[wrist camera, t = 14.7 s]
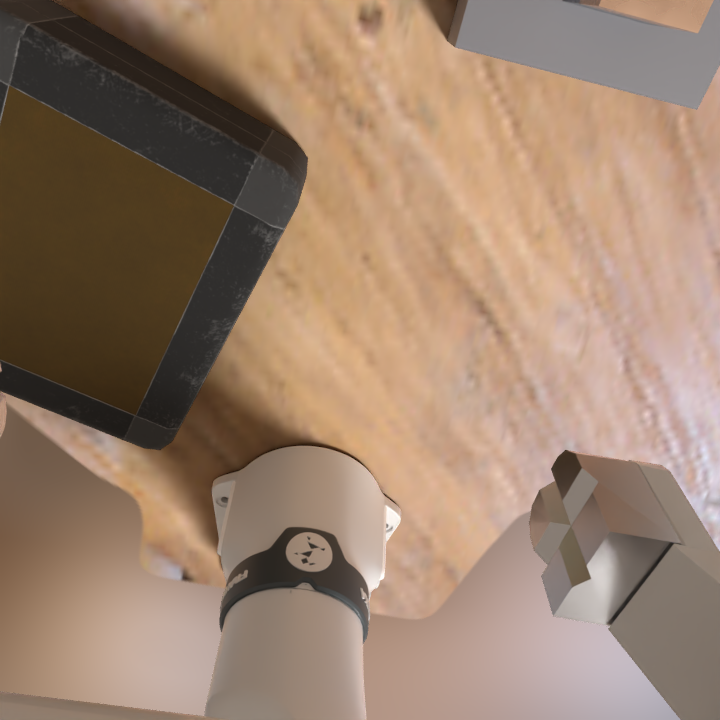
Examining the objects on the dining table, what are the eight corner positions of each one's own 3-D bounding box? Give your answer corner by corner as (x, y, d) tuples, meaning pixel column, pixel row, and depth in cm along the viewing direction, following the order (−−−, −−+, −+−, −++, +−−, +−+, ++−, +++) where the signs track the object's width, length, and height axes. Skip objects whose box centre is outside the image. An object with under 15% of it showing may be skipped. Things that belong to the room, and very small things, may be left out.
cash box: (19, -23, 36) (-58, -22, 29) (318, 152, 41) (309, 185, 34) (-51, 299, 48) (-117, 350, 41) (187, 401, 53) (162, 460, 46)
